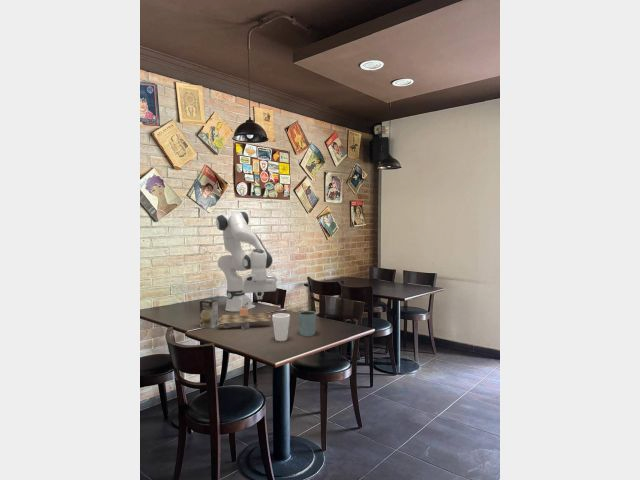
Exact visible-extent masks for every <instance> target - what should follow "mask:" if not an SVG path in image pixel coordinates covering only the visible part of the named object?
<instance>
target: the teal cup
mask: <svg viewBox="0 0 640 480" xmlns="http://www.w3.org/2000/svg"><path fill="white" fill-rule="evenodd" d="M316 322H317V312H316V311H313V310H302V311H299V312H298V323H299V324H298V325H299V334H300V336H303V337H311V336H315V335H316V325H317V324H316Z"/></svg>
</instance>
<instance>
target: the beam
mask: <svg viewBox="0 0 640 480" xmlns="http://www.w3.org/2000/svg"><path fill="white" fill-rule="evenodd" d="M271 320H272V316H271V315H270V314H269V312H260V313H259V312H258V313H248V316H240V313H239V314H225V315H224V314H223V315H222V314H221V315H220V317H218V325H219V324H224V327H223V328H224V329H232V324H233V323H234V324H236V323H240V326H241V329H240V330H249V329H250V323H252V322H253V323H254V322H255V323H256V322H269V321H270V322H271Z"/></svg>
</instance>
